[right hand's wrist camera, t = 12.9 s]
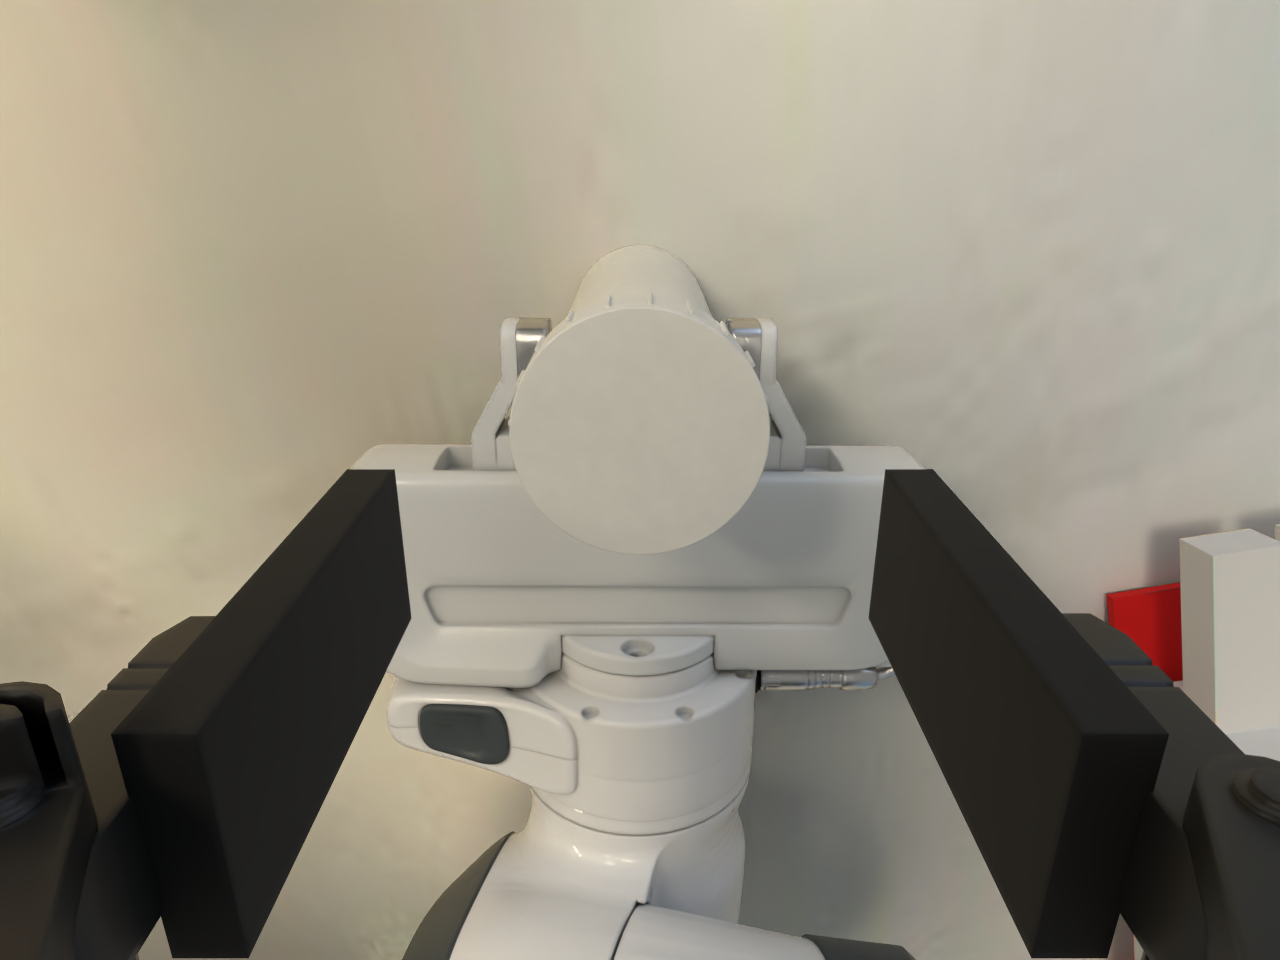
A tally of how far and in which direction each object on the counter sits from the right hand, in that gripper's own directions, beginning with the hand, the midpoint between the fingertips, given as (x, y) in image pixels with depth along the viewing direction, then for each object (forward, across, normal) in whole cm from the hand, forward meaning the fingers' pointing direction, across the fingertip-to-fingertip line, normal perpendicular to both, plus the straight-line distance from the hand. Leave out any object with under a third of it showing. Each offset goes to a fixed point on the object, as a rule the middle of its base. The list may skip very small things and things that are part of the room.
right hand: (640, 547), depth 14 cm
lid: (+6, 0, 0) cm, 6 cm away
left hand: (+15, 0, -1) cm, 15 cm away
